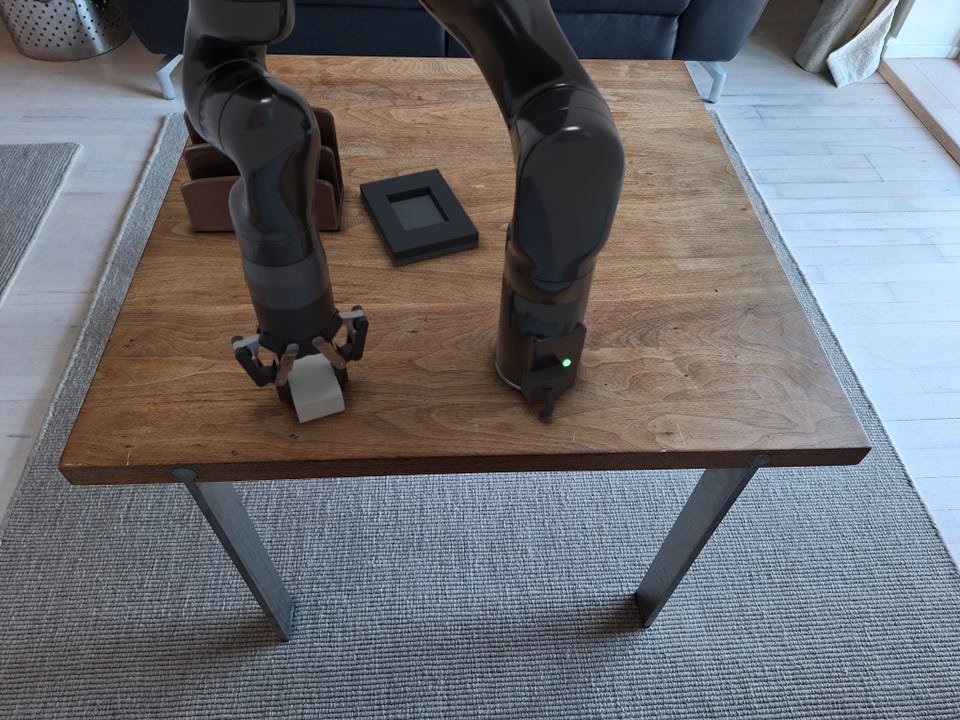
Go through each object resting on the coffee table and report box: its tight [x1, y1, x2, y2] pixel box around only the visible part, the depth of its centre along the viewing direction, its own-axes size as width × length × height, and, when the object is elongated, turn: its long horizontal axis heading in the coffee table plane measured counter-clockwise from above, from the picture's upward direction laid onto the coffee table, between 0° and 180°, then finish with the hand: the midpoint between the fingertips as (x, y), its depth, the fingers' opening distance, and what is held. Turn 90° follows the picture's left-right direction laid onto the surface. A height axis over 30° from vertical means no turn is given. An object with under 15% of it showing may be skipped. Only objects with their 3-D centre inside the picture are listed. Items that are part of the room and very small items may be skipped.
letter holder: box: [179, 105, 345, 232], centre depth 94 cm, size 10×20×14 cm, turn 93°
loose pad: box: [288, 353, 346, 424], centre depth 77 cm, size 7×5×3 cm
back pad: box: [359, 168, 480, 268], centre depth 98 cm, size 16×12×2 cm
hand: (314, 390), depth 78 cm, fingers closed on loose pad, 5 cm apart
